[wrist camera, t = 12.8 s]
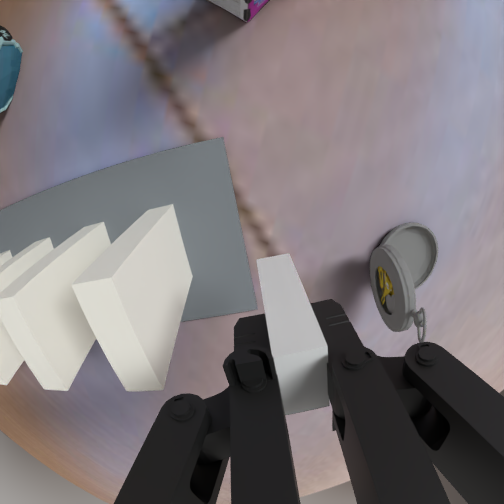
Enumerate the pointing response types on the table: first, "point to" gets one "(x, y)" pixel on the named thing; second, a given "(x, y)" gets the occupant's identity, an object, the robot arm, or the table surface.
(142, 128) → the table surface
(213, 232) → the mat
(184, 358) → the table surface
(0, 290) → the domino
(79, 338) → the domino
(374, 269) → the pocket watch
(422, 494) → the robot arm
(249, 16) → the candy bar box
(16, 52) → the sunglasses
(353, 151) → the table surface
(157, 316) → the domino
